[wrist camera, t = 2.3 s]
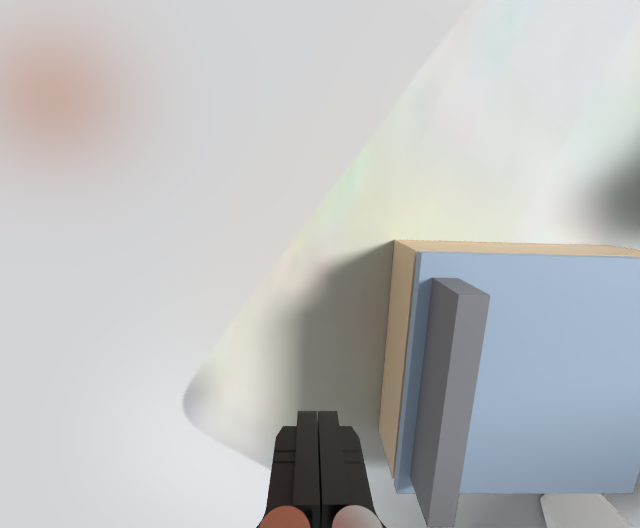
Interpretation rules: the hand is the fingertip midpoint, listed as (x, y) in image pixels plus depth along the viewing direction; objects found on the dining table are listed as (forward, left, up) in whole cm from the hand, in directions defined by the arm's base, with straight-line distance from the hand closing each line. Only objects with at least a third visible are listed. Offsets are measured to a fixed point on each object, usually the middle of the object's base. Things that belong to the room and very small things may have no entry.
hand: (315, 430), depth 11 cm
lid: (-11, 0, -4) cm, 12 cm away
